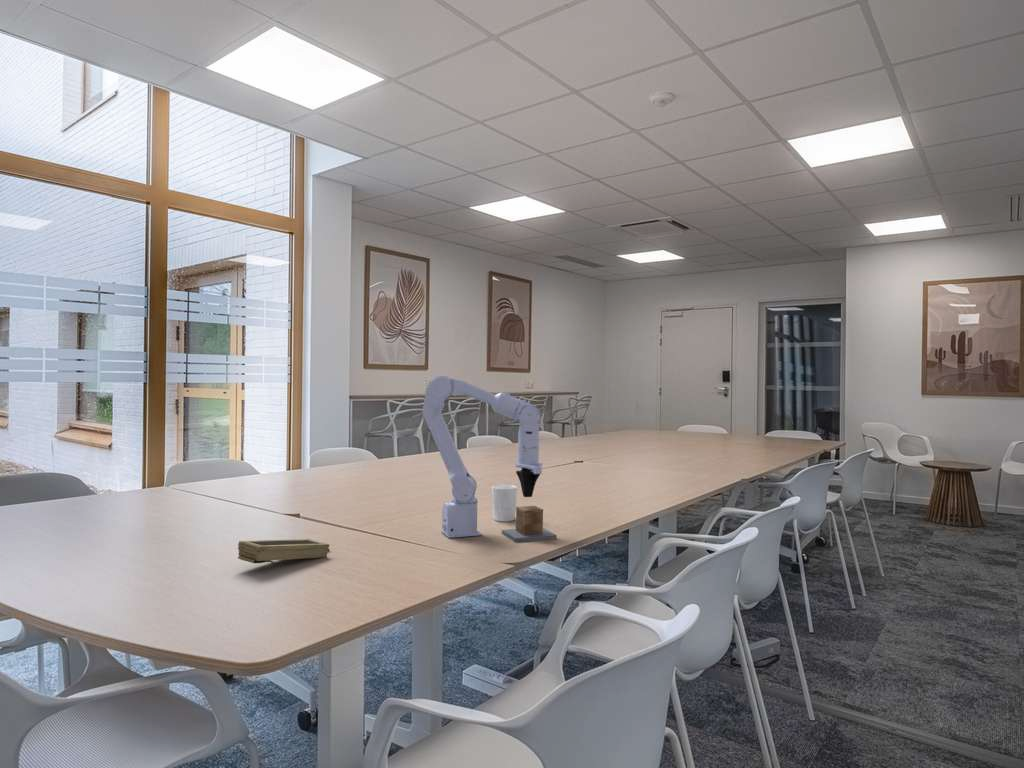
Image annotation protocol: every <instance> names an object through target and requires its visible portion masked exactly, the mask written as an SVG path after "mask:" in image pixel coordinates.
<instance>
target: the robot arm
mask: <svg viewBox="0 0 1024 768" xmlns="http://www.w3.org/2000/svg"><path fill="white" fill-rule="evenodd" d="M424 393H425V395H424V399H423V401H424V402H423V405H422V416H423V417H424V420H425V422H426V424H427V427H428V429H429V431H430V434H431V435H432V438H433V440H434V443H435V445H436V447H437V449H438V452H439V454H440V457H441V458H442V462H443V463H444V465H445V468H446V470H447V472H448V477H449V481H450V483H451V493H452V496H453V497H451V499H450V500H451V501H448V502H444V503H443V504H442V507H441V508H442V510H441V530H440V531H441V532H442V533H443V534H444V535H445V536H446V538H448V539H451V538H463V537H476V536H477V537H478V536H483V533H482V532H480V530H478V501H479V500H478V498H476V497H475V495H476V491H477V486H478V484H477V481H476V479H475V478H474V476H472V475H471V474H470V473H469V471H468V469H467V467H466V466H465V464H464V462H463V460H462V457H461V455H460V453H459V451H458V448H457V446H456V443H455V441H454V439H453V437H452V435H451V431H450V430H449V427H448V425H447V423H446V421H445V418H444V416H443V414H442V411H443V409H444V407H445V404H446V402H447V401H448V400H449V399H450V397H451V396H453V397H454V396H466V397H469V398H470V399H471V398H472V399H474V400H478V401H479V402H483V403H485V404H488V405H491V408H492V411H493V412H495V413H497V414H500V415H502V416H505V417H507V418H509V419H513V421H514V420H517V419H518V420H519V430H518V431H517V432H518V433H517V434H518V438H517V439H518V440H517V443H518V444H517V460H515V464H514V465H515V468H519V469H521V470H516V471H515V473H516V475H517V477H518V480H519V482H520V486H521V493H522V496H523V498H532V497H533V494H534V490H535V486H536V483H537V481H538V479H539V477H540V476H541V475H542V472H543V471H542V470H543V467H542V466H543V463H542V462H540V459H539V458H540V457H539V455H540V452H539V451H540V449H539V448H540V447H539V446H540V431H539V428H540V425H539V421H540V419H541V413H540V409H538V407H537V406H535V404H532V403H530V402H527V399H522V400H521V399H520V398H517V397H515V396H512V395H511V393H510V392H507V391H506V392H503V391H501V392H498V393H496V394H495V393H492V392H490V391H487V390H485V389H484V388H480V387H478V386H476V385H474V384H472V383H470V382H467V381H465V380H460V379H456V378H452V377H451V378H450V377H448V376H445V375H436V376H434V377H433V378H431V380H430V382H429V383H428V385H427V386H426V388H425V392H424Z"/></svg>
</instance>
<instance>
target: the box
mask: <svg viewBox="0 0 1024 768" xmlns="http://www.w3.org/2000/svg"><path fill="white" fill-rule="evenodd" d="M237 544H238V545H237V546H238V547H237V550H238V557H237V559H239V560H241V561H245V562H248V563H250V564H251V563H252V564H263V563H271V564H273V565H274V566H277V565H278V564H277V562H274V561H281V560H282V561H285V560H301V559H303V560H304V559H314V558H315V559H316V558H317V559H318V558H327V555H328V552H330V550H331V549H330V544H329V543H327V542H322V541H317V540H314V539H311V538H297V539H296V538H295V539H267V540H266V539H263V540H262V539H260V540H258V539H257V540H239V541H238V543H237Z"/></svg>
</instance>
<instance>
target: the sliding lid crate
mask: <svg viewBox="0 0 1024 768" xmlns="http://www.w3.org/2000/svg"><path fill="white" fill-rule="evenodd" d="M543 528H544V509H543V508H541V507H538V506H536V505H525V506H524V505H523V506H522V505H521V506H516V511H515V529H516V531H517V532H519V533H520V534H522V535H523V536H524V535H537V534H543Z"/></svg>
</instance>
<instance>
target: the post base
mask: <svg viewBox="0 0 1024 768" xmlns="http://www.w3.org/2000/svg"><path fill="white" fill-rule="evenodd" d="M501 534H502V535H504V537H507V538H508V539H509V540H510V541H513V542H514V543H521V542H522V543H523V542H524V543H525V542H534V541H543V540H544V541H547V540H557V537H558V536H557V534H556V533H554V532H552V531H550V530H548V529H546V528H544V527H543V534H537V535H524V536H523V535H522V534H520V533H519V532H517V531H516V528H512V529H511V528H509V529H501Z"/></svg>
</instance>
